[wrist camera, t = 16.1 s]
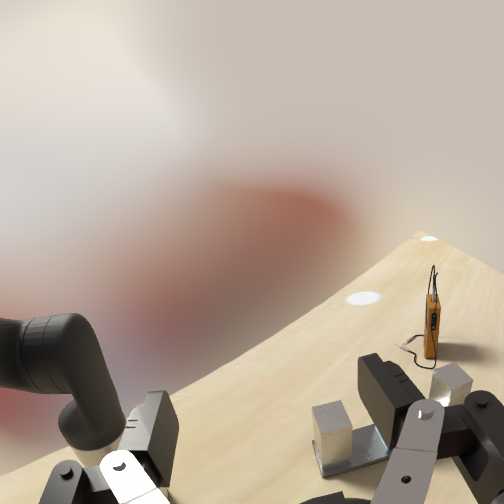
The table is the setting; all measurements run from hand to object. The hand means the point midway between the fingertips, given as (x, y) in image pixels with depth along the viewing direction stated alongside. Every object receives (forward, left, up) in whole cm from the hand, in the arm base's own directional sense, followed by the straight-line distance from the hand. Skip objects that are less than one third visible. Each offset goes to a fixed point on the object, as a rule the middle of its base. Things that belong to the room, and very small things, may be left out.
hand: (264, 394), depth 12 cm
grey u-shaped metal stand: (-6, +29, -35) cm, 46 cm away
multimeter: (-13, +56, -35) cm, 67 cm away
